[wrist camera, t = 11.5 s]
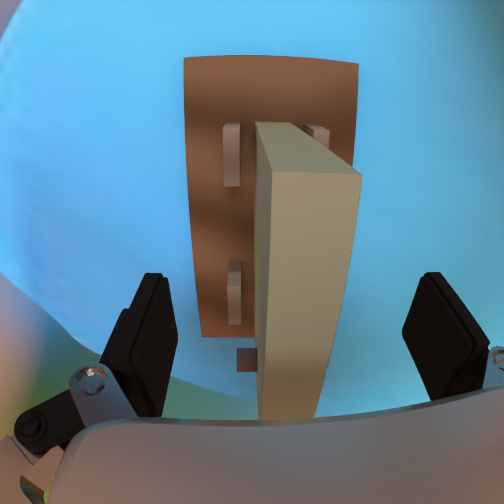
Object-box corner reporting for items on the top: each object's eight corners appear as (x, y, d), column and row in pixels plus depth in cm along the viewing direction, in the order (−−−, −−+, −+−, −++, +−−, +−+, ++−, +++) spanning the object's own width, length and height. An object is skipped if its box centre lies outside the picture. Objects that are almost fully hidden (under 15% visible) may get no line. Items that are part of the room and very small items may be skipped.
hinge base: (187, 59, 16) (172, 51, 13) (352, 65, 16) (378, 60, 13) (203, 327, 26) (197, 364, 22) (323, 325, 26) (334, 361, 22)
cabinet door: (237, 121, 17) (224, 171, 7) (290, 122, 17) (362, 175, 7) (239, 296, 23) (237, 451, 12) (281, 296, 23) (303, 448, 12)
